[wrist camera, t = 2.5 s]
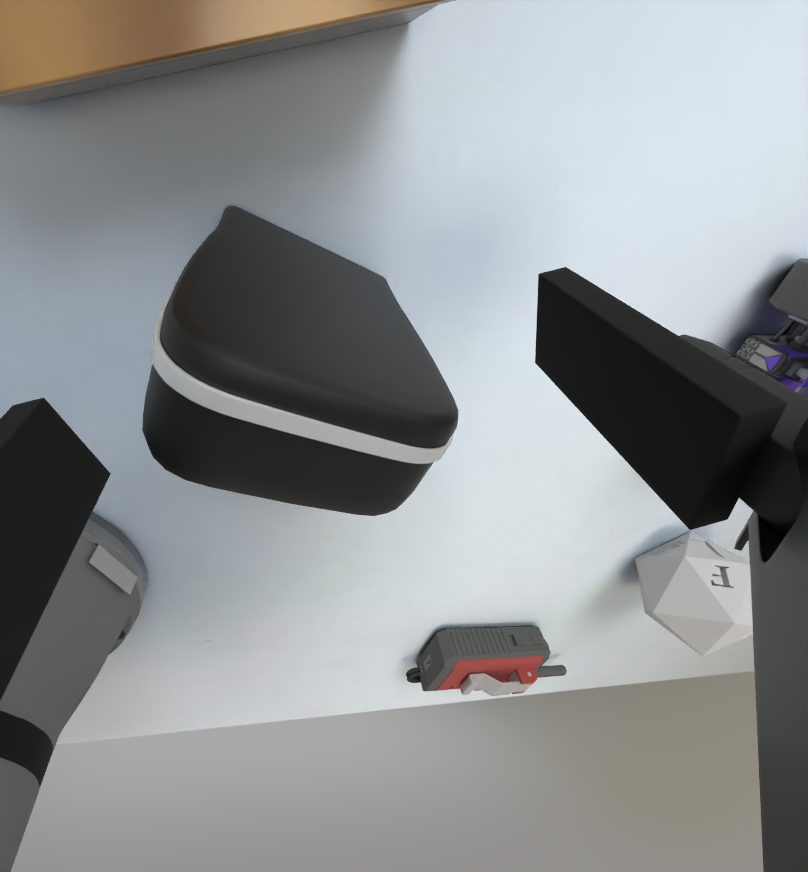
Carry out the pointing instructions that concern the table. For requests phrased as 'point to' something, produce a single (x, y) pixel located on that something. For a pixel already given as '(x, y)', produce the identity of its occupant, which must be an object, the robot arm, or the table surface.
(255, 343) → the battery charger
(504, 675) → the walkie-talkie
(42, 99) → the shelf riser
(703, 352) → the robot arm
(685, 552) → the die
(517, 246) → the table surface
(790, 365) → the toy race car
